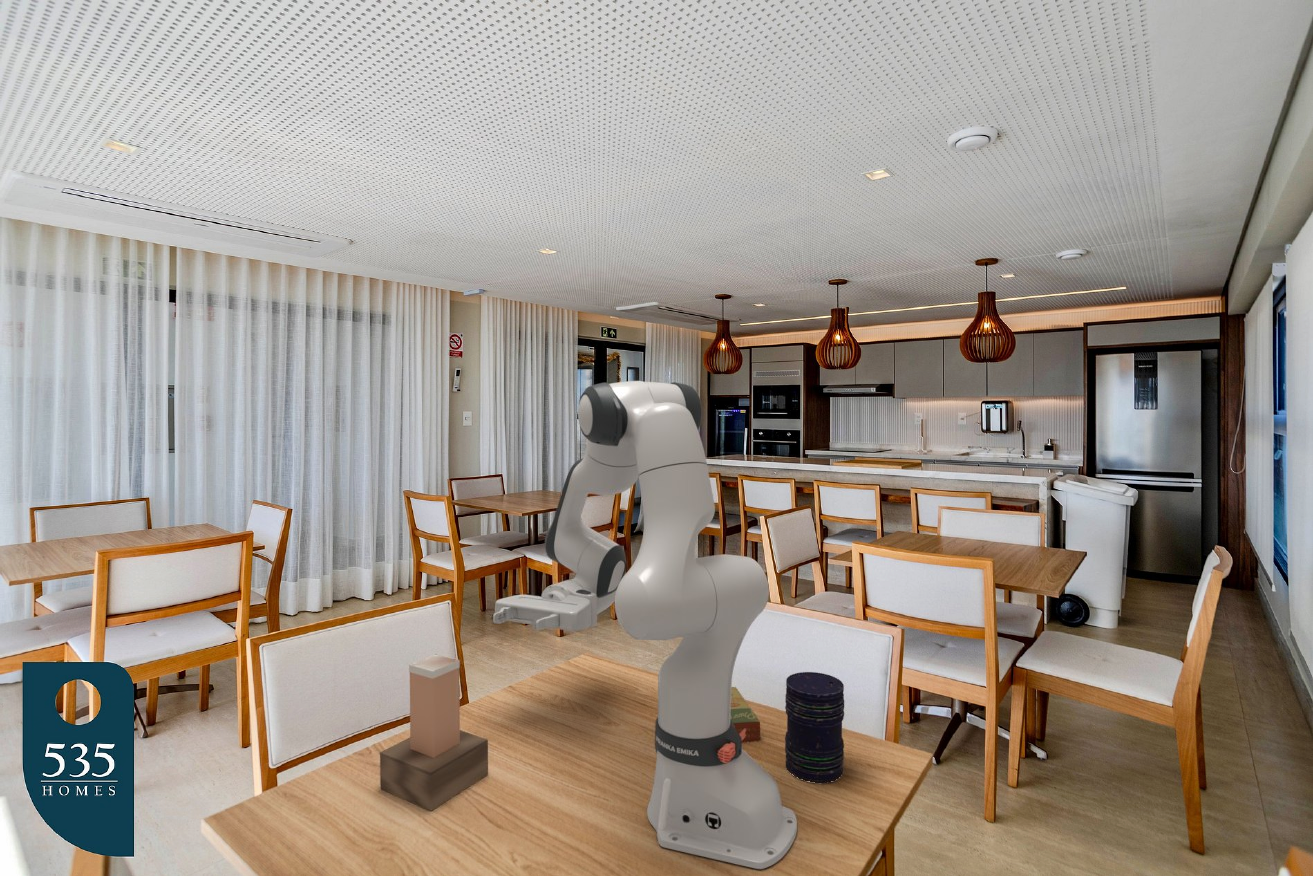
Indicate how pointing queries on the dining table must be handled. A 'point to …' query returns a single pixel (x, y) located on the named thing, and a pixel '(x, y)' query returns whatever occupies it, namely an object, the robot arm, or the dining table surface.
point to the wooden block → (433, 771)
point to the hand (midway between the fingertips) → (514, 622)
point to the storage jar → (814, 726)
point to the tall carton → (434, 705)
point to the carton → (744, 717)
